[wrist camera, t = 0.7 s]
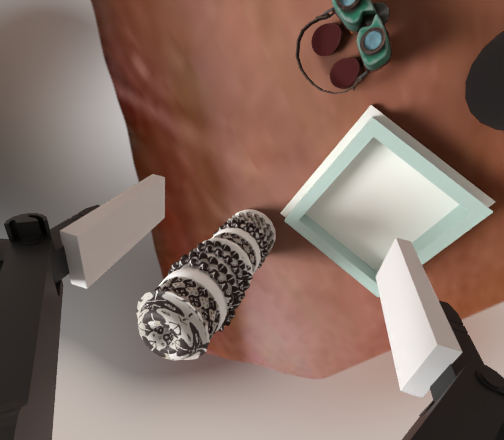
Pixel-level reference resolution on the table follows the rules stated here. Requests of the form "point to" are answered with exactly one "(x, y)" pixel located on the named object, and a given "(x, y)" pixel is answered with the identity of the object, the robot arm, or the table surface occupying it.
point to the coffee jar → (488, 85)
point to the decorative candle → (205, 288)
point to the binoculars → (368, 40)
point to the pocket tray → (383, 199)
